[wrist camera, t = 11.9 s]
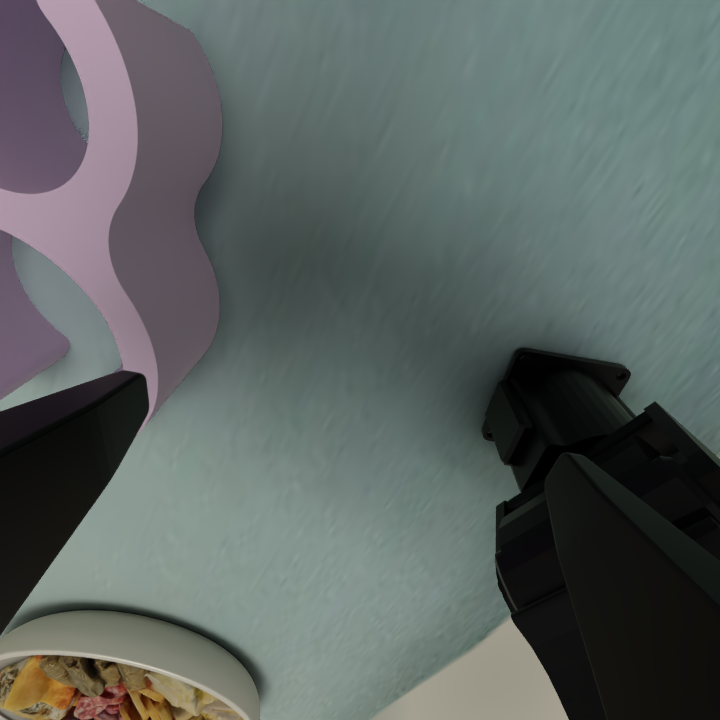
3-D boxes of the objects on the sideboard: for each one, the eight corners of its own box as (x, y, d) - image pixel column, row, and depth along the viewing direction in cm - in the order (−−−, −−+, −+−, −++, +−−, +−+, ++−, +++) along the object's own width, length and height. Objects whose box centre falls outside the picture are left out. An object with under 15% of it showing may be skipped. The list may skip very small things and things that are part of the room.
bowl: (28, 556, 35) (-57, 656, 28) (313, 656, 42) (299, 756, 35) (-5, 670, 49) (-67, 756, 42) (215, 732, 56) (191, 814, 49)
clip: (-31, -90, 14) (-342, -260, 8) (290, 84, 16) (234, 53, 10) (-9, 345, 23) (-143, 416, 18) (191, 418, 26) (132, 504, 20)
